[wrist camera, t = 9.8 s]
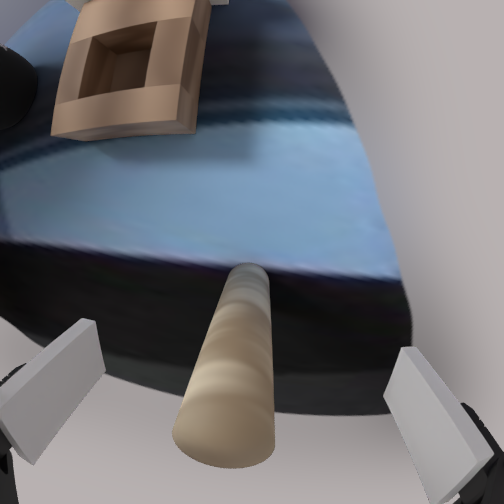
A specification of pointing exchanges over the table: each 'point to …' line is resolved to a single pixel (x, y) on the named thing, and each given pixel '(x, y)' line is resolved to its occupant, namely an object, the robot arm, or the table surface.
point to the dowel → (232, 379)
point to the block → (132, 69)
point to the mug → (15, 87)
